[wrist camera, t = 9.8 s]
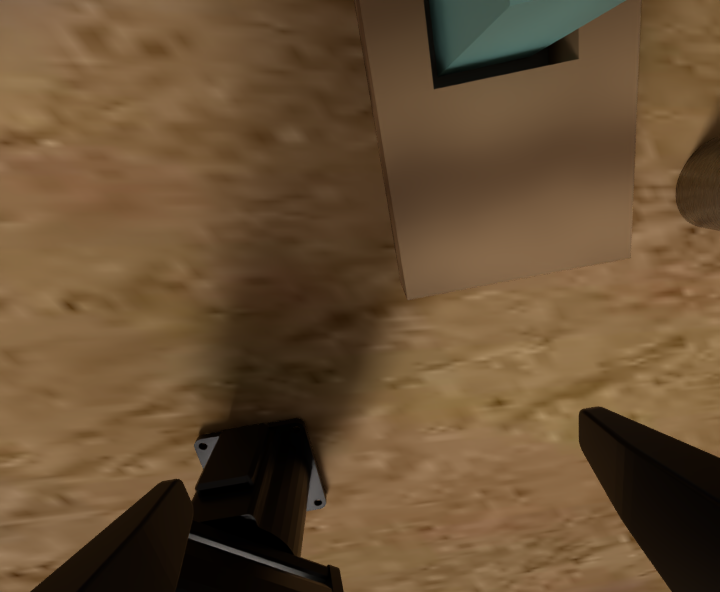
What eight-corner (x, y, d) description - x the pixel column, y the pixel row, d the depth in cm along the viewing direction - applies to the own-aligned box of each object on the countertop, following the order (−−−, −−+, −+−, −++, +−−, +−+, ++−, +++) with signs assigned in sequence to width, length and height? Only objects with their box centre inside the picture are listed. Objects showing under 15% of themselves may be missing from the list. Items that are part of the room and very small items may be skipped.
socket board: (596, 246, 19) (630, 258, 17) (401, 283, 20) (407, 300, 18) (601, -174, 14) (651, -241, 12) (336, -112, 15) (332, -165, 12)
